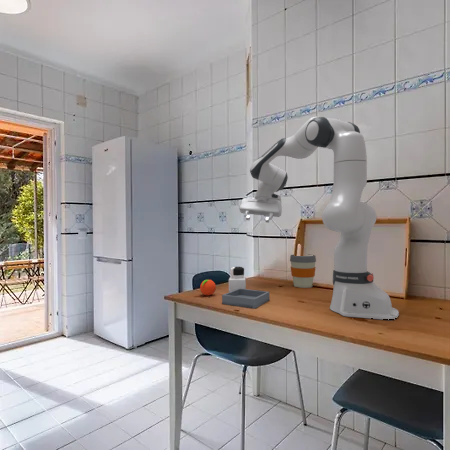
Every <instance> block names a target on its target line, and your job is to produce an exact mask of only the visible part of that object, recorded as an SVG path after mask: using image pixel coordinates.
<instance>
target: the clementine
mask: <svg viewBox="0 0 450 450" xmlns="http://www.w3.org/2000/svg"><path fill="white" fill-rule="evenodd" d="M216 286H217V285H216V283H215V282H214V281H213V280H212V279H205V280H203V281H202V282H201V283H200V286H199V289H200V292H201V294H203V295H204V296H206V297H207V296H212V295H213V294H214V293H215V292H216V289H217V287H216Z"/></svg>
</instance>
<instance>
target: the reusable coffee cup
mask: <svg viewBox="0 0 450 450" xmlns="http://www.w3.org/2000/svg"><path fill="white" fill-rule="evenodd" d="M294 255H295V254H290V256H289V257H290V258H289V262H290V272H291V273H290V274H291V276H292V283H293V286H294V287H295V288H296V287H297V288H303V289H306V288H307V289H308V288H313V285H312V284H314V277H315V276H316V269H317V267H316V262H317V257H316V255H315V254H312V255H313V256H294Z"/></svg>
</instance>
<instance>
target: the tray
mask: <svg viewBox="0 0 450 450" xmlns="http://www.w3.org/2000/svg"><path fill="white" fill-rule="evenodd" d="M269 301H270V291H265V290H257V289H247V288H246V289H240V288H239V289H236V290H234V291H231V292H229V291H228V292H227V293H226V292H225V293H224V294H222V295H221V305H226V306H233V307H235V306H236V307H240V308H247V309H248V308H249V309H253V310H254V309H257V308H259V307H260V306H262V305H264V304H266V303H267V302H269Z"/></svg>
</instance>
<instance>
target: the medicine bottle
mask: <svg viewBox="0 0 450 450" xmlns="http://www.w3.org/2000/svg"><path fill="white" fill-rule="evenodd" d="M229 273H230V276H229V278H228V293H229V292H231V291H234V290H236V289H239V288H240V289H247V288H246V286H247V285H246V284H247V283H246V282H247V281H246V280H247V278H246V276H245V268H244V267H243V266H233V267H230V272H229Z"/></svg>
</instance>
